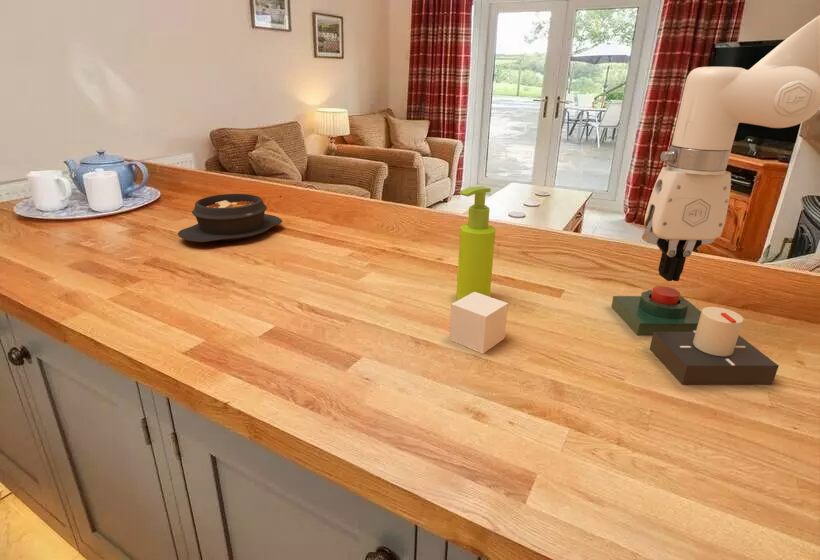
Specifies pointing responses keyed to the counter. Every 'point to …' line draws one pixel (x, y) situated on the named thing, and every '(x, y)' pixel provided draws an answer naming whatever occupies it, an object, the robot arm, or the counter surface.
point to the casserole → (229, 218)
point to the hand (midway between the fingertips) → (668, 277)
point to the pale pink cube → (478, 321)
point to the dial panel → (712, 362)
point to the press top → (665, 295)
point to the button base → (655, 314)
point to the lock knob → (717, 331)
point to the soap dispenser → (476, 247)
